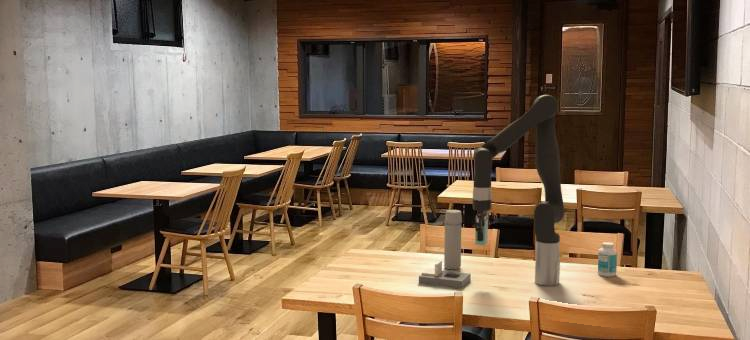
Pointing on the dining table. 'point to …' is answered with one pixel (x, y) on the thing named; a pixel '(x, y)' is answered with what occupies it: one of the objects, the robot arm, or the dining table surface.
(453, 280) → the socket block
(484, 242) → the teal flat-sided block
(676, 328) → the dining table surface
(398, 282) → the dining table surface
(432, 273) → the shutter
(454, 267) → the water bottle
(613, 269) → the pill bottle
